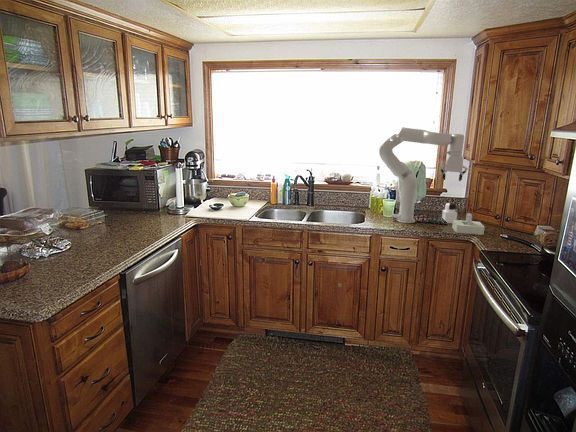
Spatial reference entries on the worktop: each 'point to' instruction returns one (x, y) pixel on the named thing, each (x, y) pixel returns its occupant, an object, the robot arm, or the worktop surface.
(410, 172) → the robot arm
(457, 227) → the well block
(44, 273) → the worktop surface
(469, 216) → the bracket
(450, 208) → the container
